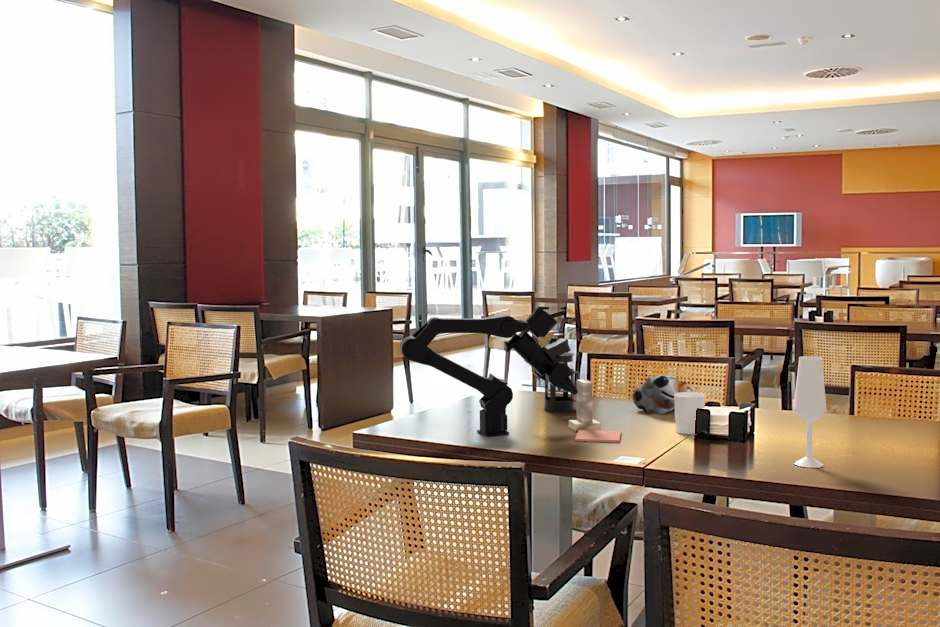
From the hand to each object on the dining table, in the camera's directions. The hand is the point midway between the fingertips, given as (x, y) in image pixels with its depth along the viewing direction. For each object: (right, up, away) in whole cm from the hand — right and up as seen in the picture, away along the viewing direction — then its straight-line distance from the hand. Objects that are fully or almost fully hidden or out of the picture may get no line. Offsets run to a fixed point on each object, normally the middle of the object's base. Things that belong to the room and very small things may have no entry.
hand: (571, 390), depth 237 cm
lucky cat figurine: (+29, -9, +25) cm, 40 cm away
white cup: (+30, -11, -4) cm, 32 cm away
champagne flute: (+48, -13, -40) cm, 64 cm away
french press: (0, -9, +30) cm, 31 cm away
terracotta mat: (+6, -11, -9) cm, 16 cm away
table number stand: (+4, -10, +2) cm, 11 cm away
